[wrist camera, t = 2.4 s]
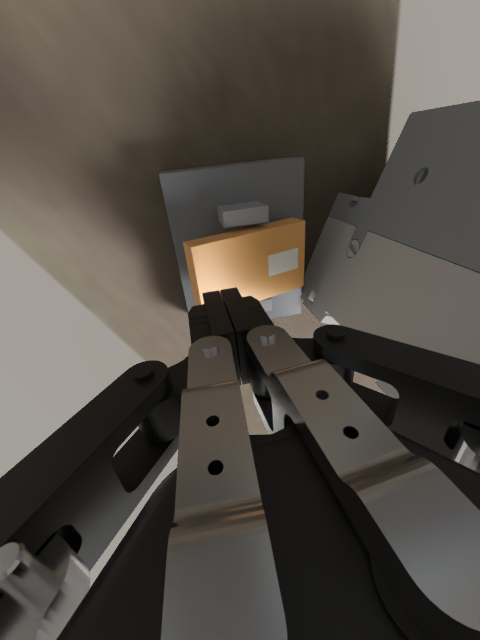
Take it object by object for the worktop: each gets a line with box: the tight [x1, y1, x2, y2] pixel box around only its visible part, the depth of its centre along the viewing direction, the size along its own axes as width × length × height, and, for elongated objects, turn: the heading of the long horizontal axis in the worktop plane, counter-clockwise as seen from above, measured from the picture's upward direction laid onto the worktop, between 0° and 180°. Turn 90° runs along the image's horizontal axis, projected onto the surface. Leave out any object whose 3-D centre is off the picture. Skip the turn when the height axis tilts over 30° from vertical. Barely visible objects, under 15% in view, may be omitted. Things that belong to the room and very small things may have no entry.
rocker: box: [183, 218, 306, 306], centre depth 16 cm, size 4×7×2 cm, turn 96°
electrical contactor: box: [301, 101, 480, 398], centre depth 15 cm, size 8×14×15 cm, turn 163°
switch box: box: [159, 157, 305, 319], centre depth 18 cm, size 10×8×5 cm
